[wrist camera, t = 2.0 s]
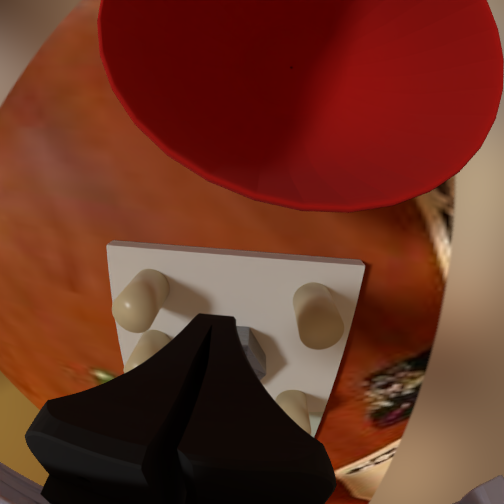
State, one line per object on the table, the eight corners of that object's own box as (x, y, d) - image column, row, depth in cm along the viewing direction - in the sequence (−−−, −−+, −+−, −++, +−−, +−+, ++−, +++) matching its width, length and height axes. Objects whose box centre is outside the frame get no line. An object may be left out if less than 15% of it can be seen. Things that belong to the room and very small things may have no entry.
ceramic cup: (393, -31, 11) (459, -100, 2) (382, 193, 17) (487, 244, 8) (205, -59, 11) (175, -151, 2) (167, 167, 17) (71, 194, 7)
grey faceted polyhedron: (273, 367, 20) (274, 387, 18) (217, 385, 21) (214, 404, 19) (239, 311, 19) (238, 328, 17) (179, 334, 19) (172, 351, 18)
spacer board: (306, 447, 25) (310, 483, 21) (146, 432, 25) (134, 466, 21) (360, 259, 18) (386, 291, 14) (113, 240, 18) (78, 265, 14)
